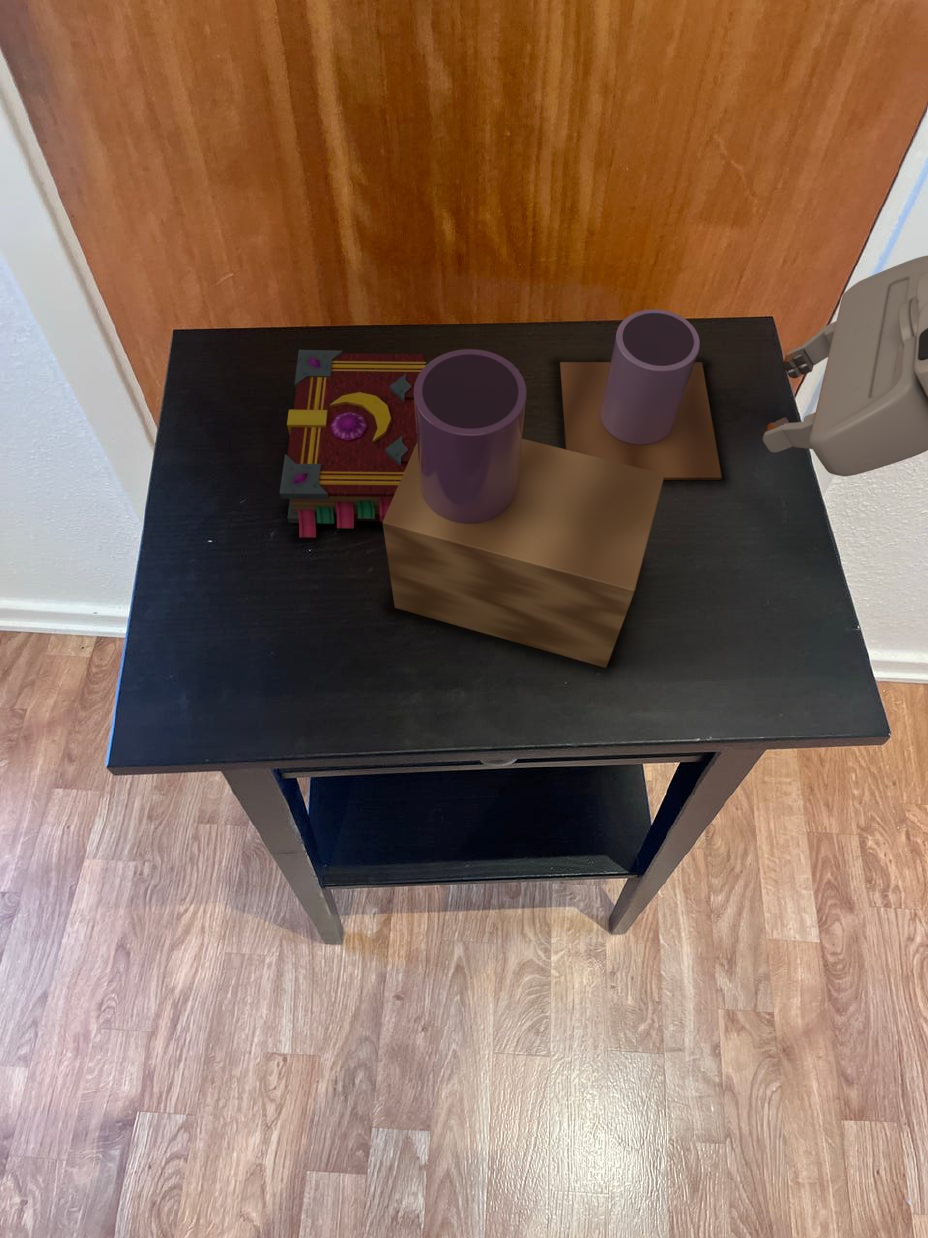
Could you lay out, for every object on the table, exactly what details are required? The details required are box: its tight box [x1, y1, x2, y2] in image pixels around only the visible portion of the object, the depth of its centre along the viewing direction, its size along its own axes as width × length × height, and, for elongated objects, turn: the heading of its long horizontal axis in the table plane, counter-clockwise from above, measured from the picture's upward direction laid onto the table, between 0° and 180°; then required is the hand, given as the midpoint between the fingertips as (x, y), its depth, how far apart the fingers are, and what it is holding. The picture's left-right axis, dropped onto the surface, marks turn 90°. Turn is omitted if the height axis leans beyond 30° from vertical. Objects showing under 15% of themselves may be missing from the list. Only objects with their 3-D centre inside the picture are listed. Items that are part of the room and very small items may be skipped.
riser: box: [382, 438, 665, 669], centre depth 63 cm, size 17×10×12 cm, turn 72°
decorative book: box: [279, 349, 428, 538], centre depth 72 cm, size 11×16×5 cm
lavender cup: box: [600, 308, 701, 445], centre depth 72 cm, size 7×7×9 cm
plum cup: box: [414, 348, 528, 524], centre depth 54 cm, size 7×7×9 cm
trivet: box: [559, 361, 722, 481], centre depth 76 cm, size 13×13×1 cm
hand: (777, 401), depth 68 cm, fingers open, 8 cm apart
